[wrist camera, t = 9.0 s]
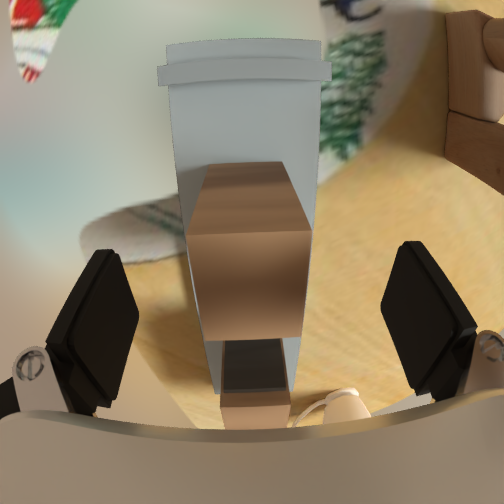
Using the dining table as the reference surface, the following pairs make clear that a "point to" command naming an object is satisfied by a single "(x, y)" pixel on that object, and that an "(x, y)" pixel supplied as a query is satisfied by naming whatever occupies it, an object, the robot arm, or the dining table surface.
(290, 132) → the rail
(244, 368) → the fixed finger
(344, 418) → the cup
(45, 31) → the dining table surface
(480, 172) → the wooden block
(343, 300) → the dining table surface
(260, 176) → the brown rectangular block
